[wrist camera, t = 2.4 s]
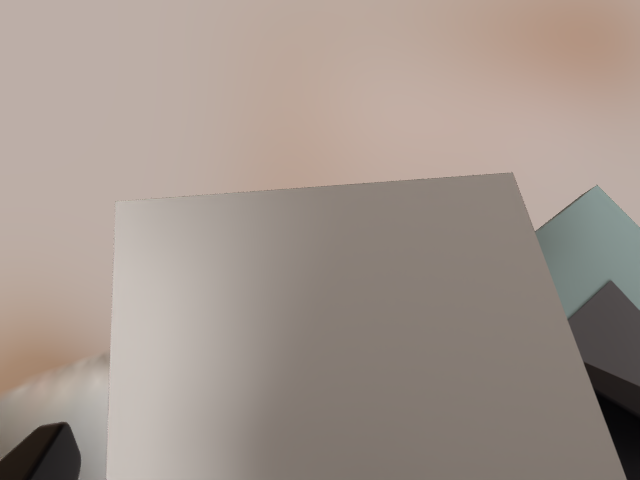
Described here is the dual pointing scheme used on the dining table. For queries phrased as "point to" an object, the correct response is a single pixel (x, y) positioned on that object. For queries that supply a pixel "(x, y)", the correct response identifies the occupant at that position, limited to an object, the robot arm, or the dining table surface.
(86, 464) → the dining table surface
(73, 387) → the dining table surface
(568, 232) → the teal flat square slab
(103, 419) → the dining table surface
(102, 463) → the dining table surface
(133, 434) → the light grey rectangular block
